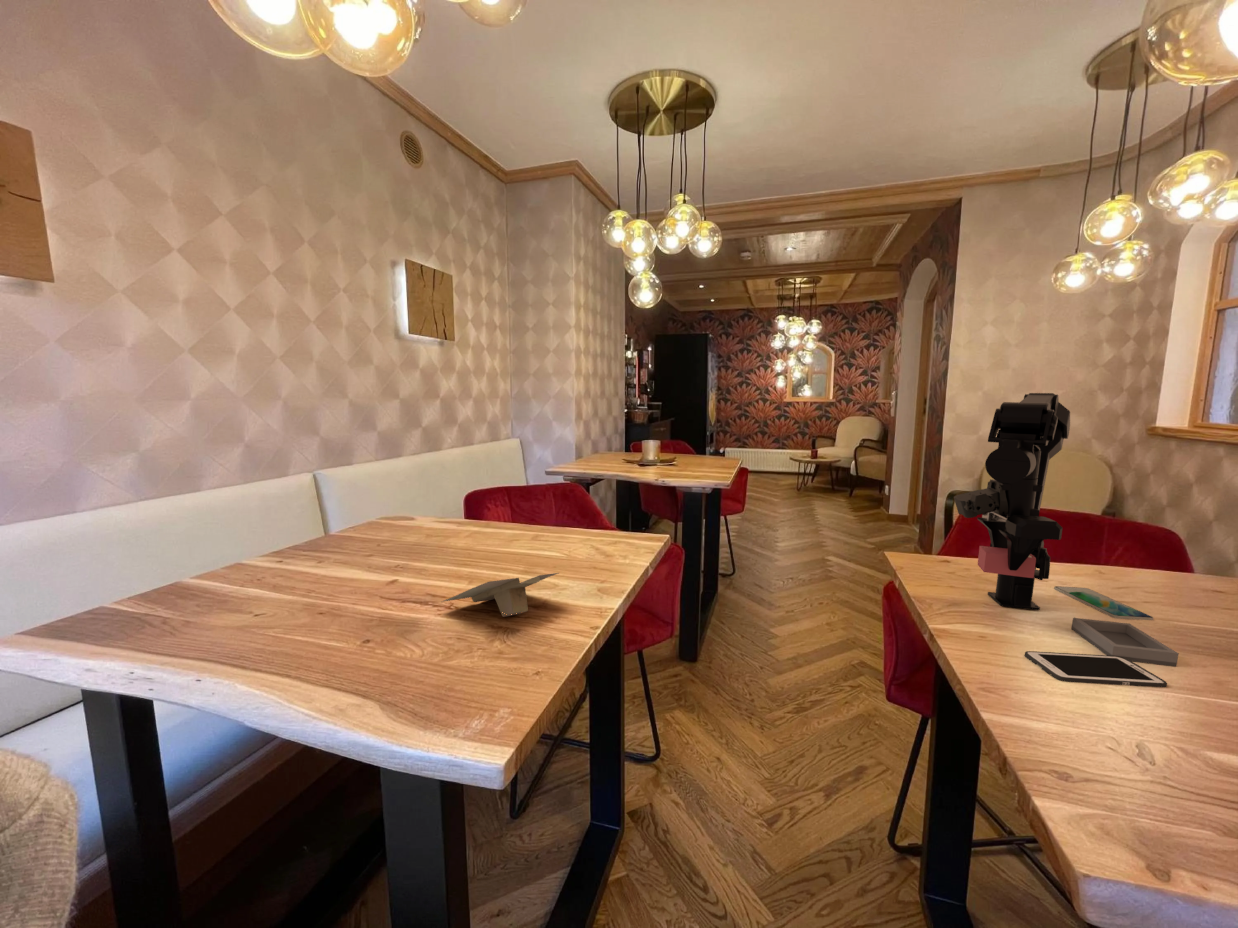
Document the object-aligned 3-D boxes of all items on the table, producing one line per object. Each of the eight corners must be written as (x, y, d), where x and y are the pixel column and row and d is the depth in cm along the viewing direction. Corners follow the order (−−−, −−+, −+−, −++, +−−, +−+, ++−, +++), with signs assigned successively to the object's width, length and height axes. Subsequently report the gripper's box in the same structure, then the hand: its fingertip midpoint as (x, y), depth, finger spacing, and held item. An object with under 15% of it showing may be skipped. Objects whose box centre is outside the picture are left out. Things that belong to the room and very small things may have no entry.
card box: (983, 571, 89) (986, 551, 89) (977, 564, 93) (979, 545, 93) (1033, 578, 87) (1036, 557, 86) (1024, 569, 91) (1027, 550, 90)
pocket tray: (1071, 629, 90) (1073, 617, 90) (1127, 635, 88) (1129, 623, 88) (1111, 658, 80) (1113, 645, 80) (1176, 666, 78) (1178, 653, 78)
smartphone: (1087, 587, 109) (1156, 618, 94) (1087, 591, 109) (1155, 622, 94) (1052, 585, 110) (1115, 615, 95) (1051, 589, 110) (1114, 620, 95)
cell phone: (1021, 656, 81) (1021, 650, 81) (1122, 661, 80) (1123, 655, 80) (1058, 683, 73) (1058, 677, 73) (1170, 690, 72) (1171, 683, 72)
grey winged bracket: (449, 648, 88) (493, 610, 80) (437, 601, 92) (478, 560, 84) (527, 632, 100) (572, 597, 92) (513, 590, 104) (555, 554, 96)
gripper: (943, 467, 99) (935, 546, 101) (986, 482, 81) (975, 578, 83) (1010, 470, 96) (1000, 551, 98) (1070, 487, 78) (1056, 586, 80)
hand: (1005, 565), depth 90 cm, fingers closed on card box, 5 cm apart
